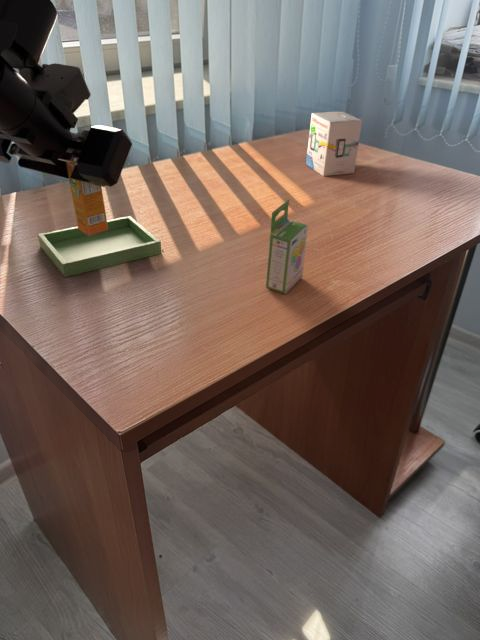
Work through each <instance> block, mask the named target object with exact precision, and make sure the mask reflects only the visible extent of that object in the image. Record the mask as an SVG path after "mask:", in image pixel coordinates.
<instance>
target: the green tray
mask: <svg viewBox="0 0 480 640" xmlns="http://www.w3.org/2000/svg"><path fill="white" fill-rule="evenodd" d="M107 225H108V230H107V231H104V232H101V233H98V234H94V235H90V236H88V235H87V234H85V233H84V232H82V231H81V230H79V229H78V226H72V227H67V228H62V229H57V230H52V231H46V232H41V233H37V238H38V243H39V246H40V248H41V250H42V251H43V252H44V253H45V254H46V256H47V257H48V258H49V259H50V261H51V262H52V263H53V264H54V266H55V267H56V268H57V269H58V270H59V272H60V273H61V274H62V276H63V277H64V278H68V277H71V276H72V277H73V276H76V275H81V274H84V273H88V272H92V271H96V270H101V269H104V268H108V267H112V266H117V265H120V264H125V263H129V262H132V261H136V260H141V259H145V258H149V257H153V256H157V255H161V254H162V242H161V240H160V239H158V238H157V237H156V235H153V233H151V232H150V231H149V230H148V229H147V228H145V227H144V226H143V225H141V224H140V223H139V222H138V221H137V220H136V219H134V218H133V217H132V216H131V215H127V216H123V217H117V218H112V219H107Z"/></svg>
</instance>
